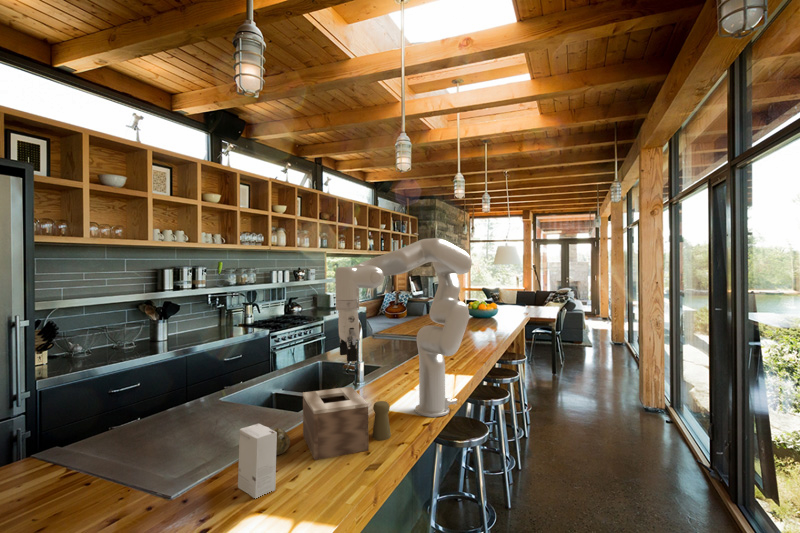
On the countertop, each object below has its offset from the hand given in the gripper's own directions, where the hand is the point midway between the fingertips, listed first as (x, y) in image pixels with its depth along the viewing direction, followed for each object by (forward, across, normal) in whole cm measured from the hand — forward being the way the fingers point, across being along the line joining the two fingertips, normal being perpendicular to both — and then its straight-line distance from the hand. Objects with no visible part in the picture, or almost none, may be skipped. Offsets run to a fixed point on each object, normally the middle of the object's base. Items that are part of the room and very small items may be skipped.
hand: (348, 357), depth 141 cm
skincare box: (+25, -25, +29) cm, 46 cm away
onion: (+25, -6, +23) cm, 34 cm away
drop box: (+24, -6, +6) cm, 26 cm away
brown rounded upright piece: (+25, -6, -9) cm, 27 cm away
